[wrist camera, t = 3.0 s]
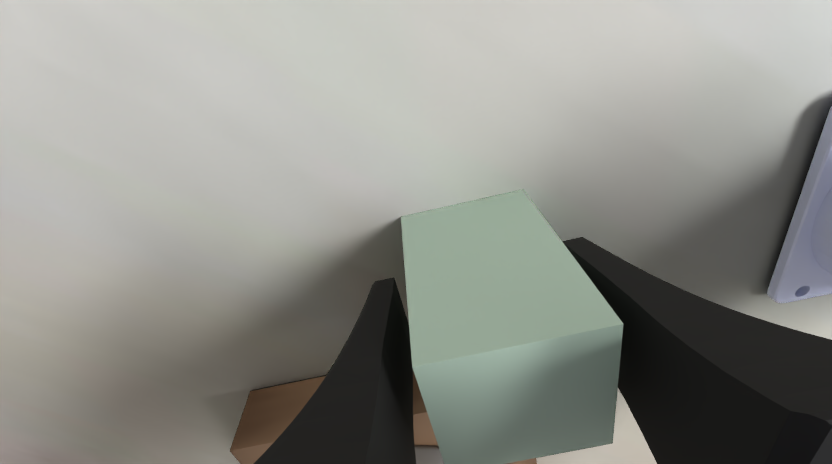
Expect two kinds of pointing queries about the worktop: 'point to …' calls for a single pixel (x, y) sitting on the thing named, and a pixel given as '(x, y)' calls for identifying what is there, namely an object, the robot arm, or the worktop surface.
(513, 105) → the worktop surface
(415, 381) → the walnut base
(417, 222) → the sage block
